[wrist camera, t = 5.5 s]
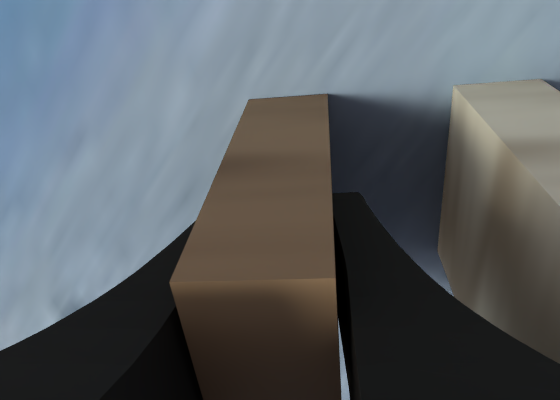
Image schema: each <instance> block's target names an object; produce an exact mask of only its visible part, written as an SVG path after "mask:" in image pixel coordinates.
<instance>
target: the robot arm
mask: <svg viewBox="0 0 560 400" xmlns="http://www.w3.org/2000/svg"><path fill="white" fill-rule="evenodd" d="M332 204H333V226H334V248H335V270H336V291H337V313H338V320H339V326H340V333H341V340H342V346H343V353H344V359H345V366H346V372H347V379H348V385H349V393H350V400H560V364H559V363H557V362H555V361H554V360H552V359H550V358H548V357H546V356H545V355H543V354H541V353H539V352H538V351H536V350H534V349H532V348H531V347H529V346H527V345H526V344H524V343H522V342H520V341H519V340H517V339H515V338H514V337H512V336H510V335H509V334H507V333H506V332H504V331H502V330H501V329H499V328H498V327H496V326H494V325H493V324H491V323H490V322H489V321H487V320H486V319H484V318H483V317H481V316H480V315H478V314H477V313H476V312H474V311H473V310H471V309H470V308H468V307H467V306H465V305H464V304H463V303H461V302H460V301H459V300H457V299H456V298H455V297H453V296H452V295H451V294H449V293H448V292H447V291H446V290H445V289H443V288H442V287H441V286H440V285H439V284H438V283H436V282H435V281H434V280H433V279H432V278H431V277H430V276H429V275H427V274H426V273H425V272H424V271H423V270H422V269H421V268H420V267H419V266H418V265H417V264H416V263H415V262H414V261H413V260H412V259H411V258H410V257H409V256H408V255H407V254H406V253H405V252H404V250H403V249H402V248H401V247H400V246H399V245H398V244H397V243H396V242H395V240H394V239H393V238H392V237H391V236H390V234H389V233H388V232H387V231H386V230H385V228H384V227H383V226H382V225H381V223H380V222H379V221H378V219H377V218H376V216H375V215H374V214H373V212H372V211H371V209H370V208H369V206H368V205H367V203H366V201H365V200H364V198H363V196H362V195H361V194H360V193H358V192H350V193H332ZM195 222H196V221H195ZM195 222H194V223H193V224H192V225H190V226H189V227H188V228H187V229H186V230H185V231H184V232H183V233H182V234H181V235H180V236H178V237H177V238H176V239H175V240H174V241H173V242H172V243H171V244H169V245H168V246H167V247H166V248H165V249H163V250H162V251H161V252H160V253H159V254H157V255H156V256H155V257H154V258H152V259H151V260H150V261H149V262H148V263H146V264H145V265H144V266H143V267H141V268H140V269H139V270H138V271H136V272H135V273H134V274H132V275H131V276H130V277H128V278H127V279H125V280H124V281H123V282H121V283H120V284H118V285H117V286H115V287H114V288H112V289H111V290H109V291H108V292H106V293H105V294H103V295H102V296H100V297H99V298H97V299H96V300H94V301H93V302H91V303H89V304H87V305H86V306H84V307H82V308H80V309H79V310H77V311H75V312H74V313H72V314H70V315H68V316H67V317H65V318H63V319H61V320H60V321H58V322H56V323H55V324H53V325H51V326H49V327H47V328H46V329H44V330H42V331H40V332H38V333H36V334H34V335H32V336H30V337H28V338H26V339H24V340H22V341H20V342H18V343H16V344H14V345H12V346H10V347H8V348H6V349H4V350H1V351H0V400H203V398H202V394H201V391H200V387H199V384H198V380H197V377H196V373H195V370H194V366H193V363H192V359H191V356H190V353H189V349H188V346H187V342H186V339H185V335H184V332H183V328H182V325H181V321H180V318H179V314H178V311H177V307H176V304H175V300H174V297H173V294H172V290H171V287H170V283H169V282H170V279H171V277H172V275H173V273H174V270H175V268H176V266H177V263H178V261H179V259H180V256H181V254H182V252H183V250H184V247H185V245H186V243H187V240H188V238H189V236H190V233H191V231H192V229H193V227H194V224H195Z"/></svg>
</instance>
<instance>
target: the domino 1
mask: <svg viewBox="0 0 560 400" xmlns="http://www.w3.org/2000/svg"><path fill="white" fill-rule="evenodd" d="M169 283H170V287H171V290H172V294H173V297H174V300H175V304H176V307H177V311H178V314H179V318H180V321H181V325H182V328H183V332H184V335H185V339H186V342H187V346H188V349H189V353H190V356H191V359H192V363H193V366H194V370H195V373H196V377H197V380H198V384H199V387H200V391H201V394H202V398H203V400H341V379H340V356H339V334H338V313H337V291H336V270H335V248H334V226H333V204H332V179H331V157H330V136H329V114H328V94H319V95H305V96H292V97H278V98H264V99H250V100H248V102H247V105H246V107H245V109H244V112H243V114H242V116H241V119H240V121H239V123H238V125H237V128H236V130H235V132H234V135H233V137H232V139H231V142H230V144H229V146H228V148H227V151H226V153H225V155H224V158H223V160H222V162H221V165H220V167H219V169H218V171H217V174H216V176H215V178H214V181H213V183H212V185H211V188H210V190H209V192H208V194H207V197H206V199H205V201H204V204H203V206H202V208H201V210H200V213H199V215H198V217H197V220H196V222H195V224H194V227H193V229H192V231H191V233H190V236H189V238H188V240H187V243H186V245H185V247H184V250H183V252H182V254H181V256H180V259H179V261H178V263H177V266H176V268H175V270H174V273H173V275H172V277H171V279H170V282H169Z"/></svg>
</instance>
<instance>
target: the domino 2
mask: <svg viewBox="0 0 560 400" xmlns="http://www.w3.org/2000/svg"><path fill="white" fill-rule="evenodd" d="M437 251H438V254H439V257H440V259H441V262H442V265H443V268H444V270H445V273H446V276H447V278H448V281H449V284H450V287H451V289H452V292H453V295H454V297H455V298H456V299H457V300H459V301H460V302H461V303H463V304H464V305H465V306H467V307H468V308H470V309H471V310H473V311H474V312H476V313H477V314H478V315H480V316H481V317H483V318H484V319H486V320H487V321H489V322H490V323H491V324H493V325H494V326H496V327H498V328H499V329H501V330H502V331H504V332H506V333H507V334H509V335H510V336H512V337H514V338H515V339H517V340H519V341H520V342H522V343H524V344H526V345H527V346H529V347H531V348H532V349H534V350H536V351H538V352H539V353H541V354H543V355H545V356H546V357H548V358H550V359H552V360H554V361H555V362H557V363H559V364H560V91H558V90H557V89H555V88H554V87H552V86H551V85H549V84H548V83H546V82H545V81H543V80H542V79H535V80H521V81H507V82H493V83H479V84H466V85H453V95H452V106H451V116H450V126H449V137H448V147H447V157H446V167H445V178H444V188H443V198H442V209H441V219H440V229H439V240H438V250H437Z"/></svg>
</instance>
